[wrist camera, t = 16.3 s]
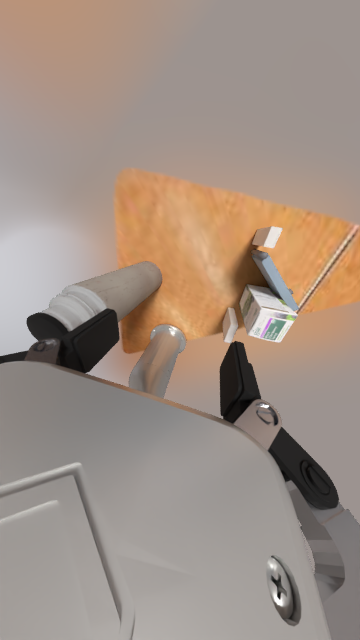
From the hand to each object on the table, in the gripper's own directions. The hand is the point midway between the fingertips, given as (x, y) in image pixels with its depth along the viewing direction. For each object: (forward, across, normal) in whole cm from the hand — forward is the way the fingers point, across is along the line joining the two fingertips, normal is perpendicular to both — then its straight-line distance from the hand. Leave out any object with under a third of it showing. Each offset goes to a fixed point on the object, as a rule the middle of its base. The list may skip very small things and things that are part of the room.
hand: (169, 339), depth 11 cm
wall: (+28, -10, +2) cm, 30 cm away
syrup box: (+28, -14, +4) cm, 32 cm away
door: (+28, -15, -2) cm, 32 cm away
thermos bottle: (+28, +14, +4) cm, 32 cm away
